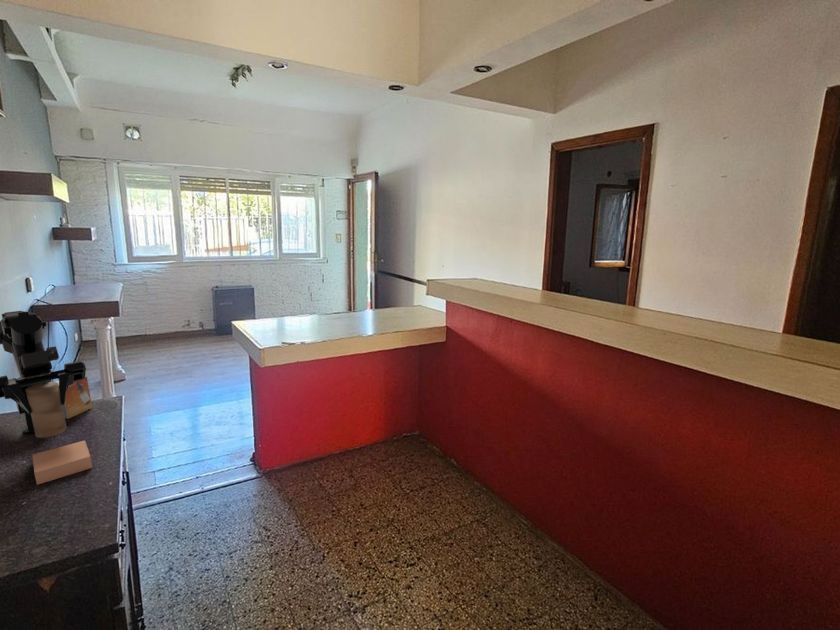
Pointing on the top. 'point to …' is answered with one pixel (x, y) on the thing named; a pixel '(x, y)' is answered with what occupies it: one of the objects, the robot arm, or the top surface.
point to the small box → (77, 398)
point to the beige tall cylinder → (46, 409)
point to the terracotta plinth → (61, 462)
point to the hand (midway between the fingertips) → (47, 408)
